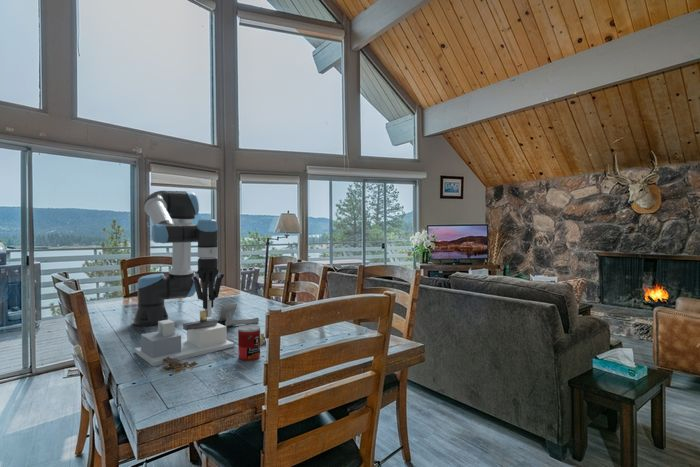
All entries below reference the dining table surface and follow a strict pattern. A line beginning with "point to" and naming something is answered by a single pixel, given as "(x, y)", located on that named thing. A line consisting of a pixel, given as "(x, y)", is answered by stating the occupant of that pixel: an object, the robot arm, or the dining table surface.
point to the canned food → (249, 342)
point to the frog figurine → (178, 365)
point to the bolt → (200, 322)
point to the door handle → (228, 313)
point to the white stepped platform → (181, 342)
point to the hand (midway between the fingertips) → (208, 316)
